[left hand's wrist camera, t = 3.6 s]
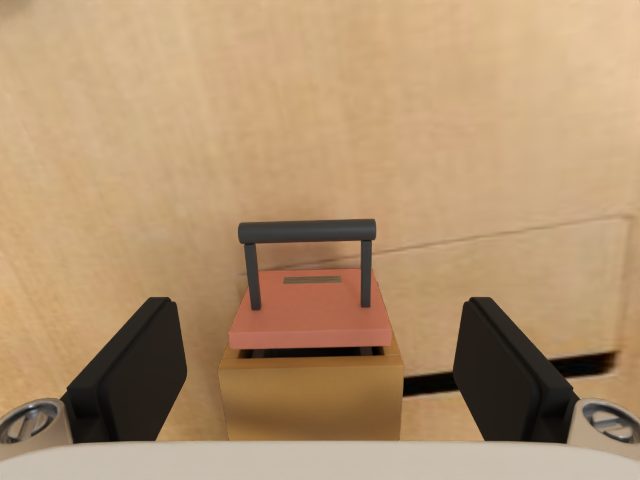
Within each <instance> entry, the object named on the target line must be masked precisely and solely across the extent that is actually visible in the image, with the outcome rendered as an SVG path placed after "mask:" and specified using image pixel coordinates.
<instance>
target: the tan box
mask: <svg viewBox="0 0 640 480" xmlns="http://www.w3.org/2000/svg"><path fill="white" fill-rule="evenodd" d="M377 285H378V282H377ZM378 288H379V285H378ZM379 291H380V289H379ZM380 294H381V292H380ZM381 298H382V295H381ZM382 301H383V298H382ZM383 304H384V302H383ZM384 307H385V305H384ZM385 310H386V308H385ZM386 313H387V311H386ZM387 316H388V314H387ZM388 319H389V317H388ZM389 323H390V320H389ZM390 326H391V323H390ZM391 329H392V326H391ZM371 348H372V352H373V356H338V357H293V358H251V357H252V354H253V350H254V349H230V342H229V343H228V345H227V347H226V350H225V352H224V355H223V357H222V360H221V362H220V364H219V367H218V369H217V371H218V378H219V384H220V390H221V396H222V402H223V408H224V414H225V421H226V427H227V433H228V439H229V441H400V427H401V411H402V394H403V378H404V364H403V360H402V357H401V354H400V351H399V348H398V345H397V342H396V339H395V336H394V333H393V329H392V333H391V346H371Z"/></svg>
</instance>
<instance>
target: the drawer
mask: <svg viewBox="0 0 640 480" xmlns="http://www.w3.org/2000/svg"><path fill="white" fill-rule="evenodd" d="M238 238H239V241H240V243H241V244H245V245H244V249H245V258H246V267H247V276H248V284H249V285H248V288H247V290H246V292H245V295H244V297H243V299H242V302H241V304H240V307H239V309H238V311H237V314H236V316H235V318H234V321H233V323H232V325H231V328H230V330H229V332H228V335H229V342H230V349H254V350H253V354H252V357H251V358H293V357H338V356H373V352H372V348H371V346H391V333H392V329H391V326H390V323H389V319H388V316H387V313H386V310H385V307H384V304H383V301H382V298H381V294H380V291H379V288H378V285H377V282H376V279H375V276H374V272H373V269H372V268H371V258H372V241H371V240H375V238H376V222H375V219H349V220H315V221H280V222H246V223H240V224H239V227H238ZM326 241H361V269H324V270H287V271H258V264H257V254H256V244H255V243H290V242H326Z"/></svg>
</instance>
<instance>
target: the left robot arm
mask: <svg viewBox="0 0 640 480" xmlns="http://www.w3.org/2000/svg"><path fill="white" fill-rule="evenodd" d="M186 376H187V366H186V360H185V353H184V347H183V341H182V335H181V329H180V322H179V316H178V310H177V305H176V303H175V302H171V299H170V298H169V297H150V298H149V299H147V301H146V302H145V303H144V304H143V305H142V306H141V307H140V308H139V309H138V310H137V311H136V313H135V314H134V315H133V316H132V317H131V318H130V319H129V320H128V321H127V322H126V324H125V325H124V326H123V327H122V328H121V329H120V330H119V331H118V332H117V333H116V334H115V336H114V337H113V338H112V339H111V340H110V341H109V342H108V343H107V344H106V345H105V346H104V348H103V349H102V350H101V351H100V352H99V353H98V354H97V355H96V356H95V357H94V358H93V360H92V361H91V362H90V363H89V364H88V365H87V366H86V367H85V368H84V369H83V371H82V372H81V373H80V374H79V375H78V376H77V377H76V378H75V379H74V380H73V381H72V383H71V384H70V385H69V386H68V387H67V392H66V393H65V394H64V395H63V396H62V397H61V398H60V400H59V399H57V398H43V399H37V400H34V401H31V402H27V403H25V404H23V405H21V406H18V407H16V408H14V409H13V410H11V411H9V412H8V413H6V414H5V415H3V416H2V417H1V418H0V480H640V418H639V417H638V416H637V415H635V414H634V413H632V412H631V411H629V410H627V409H626V408H624V407H622V406H619V405H617V404H615V403H613V402H609V401H606V400H603V399H597V398H583V399H581V400H580V398H579V397H578V396H577V395H576V394H575V393H574V392H573V387H572V386H571V385H570V384H569V383H568V381H567V380H566V379H565V378H564V377H563V376H562V375H561V374H560V373H559V372H558V371H557V369H556V368H555V367H554V366H553V365H552V364H551V363H550V362H549V361H548V360H547V358H546V357H545V356H544V355H543V354H542V353H541V352H540V351H539V350H538V349H537V348H536V346H535V345H534V344H533V343H532V342H531V341H530V340H529V339H528V338H527V337H526V336H525V334H524V333H523V332H522V331H521V330H520V329H519V328H518V327H517V326H516V325H515V324H514V322H513V321H512V320H511V319H510V318H509V317H508V316H507V315H506V314H505V313H504V311H503V310H502V309H501V308H500V307H499V306H498V305H497V304H496V303H495V302H494V301H493V299H491V298H490V297H471V298H470V299H469V302H465V303H464V305H463V310H462V316H461V322H460V329H459V335H458V341H457V347H456V353H455V360H454V366H453V376H454V380H455V382H456V384H457V386H458V388H459V390H460V392H461V394H462V396H463V398H464V400H465V402H466V404H467V406H468V408H469V410H470V412H471V414H472V416H473V418H474V420H475V422H476V424H477V426H478V428H479V430H480V432H481V434H482V436H483V438H484V440H485V441H155V440H156V438H157V436H158V434H159V432H160V430H161V428H162V426H163V424H164V422H165V420H166V418H167V416H168V414H169V412H170V410H171V408H172V406H173V404H174V402H175V400H176V398H177V396H178V394H179V392H180V390H181V388H182V386H183V384H184V382H185V380H186Z"/></svg>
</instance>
